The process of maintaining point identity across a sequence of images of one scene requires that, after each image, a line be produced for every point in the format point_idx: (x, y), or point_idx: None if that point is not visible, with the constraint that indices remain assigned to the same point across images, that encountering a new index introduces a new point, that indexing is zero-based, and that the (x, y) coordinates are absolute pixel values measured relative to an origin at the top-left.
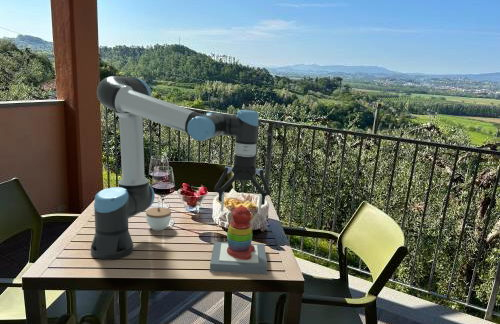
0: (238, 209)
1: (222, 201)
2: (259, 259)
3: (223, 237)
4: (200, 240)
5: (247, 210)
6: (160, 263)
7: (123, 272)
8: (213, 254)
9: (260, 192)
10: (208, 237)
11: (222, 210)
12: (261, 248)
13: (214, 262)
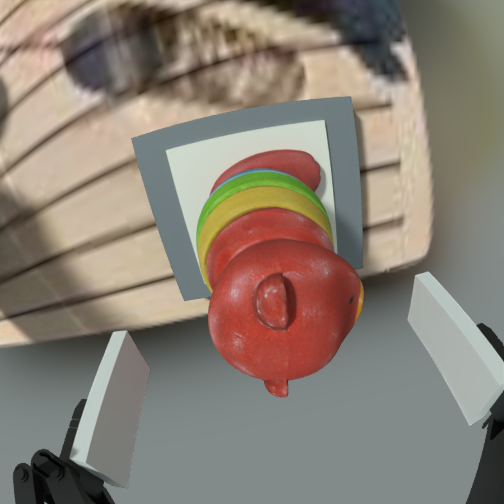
0: (263, 377)
1: (129, 434)
2: (339, 231)
3: (150, 27)
4: (77, 93)
5: (336, 351)
6: (60, 279)
7: (38, 325)
8: (169, 244)
9: (487, 454)
10: (96, 55)
11: (145, 375)
12: (343, 139)
13: (193, 292)
